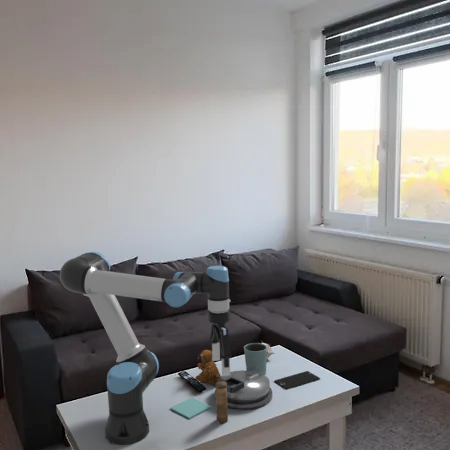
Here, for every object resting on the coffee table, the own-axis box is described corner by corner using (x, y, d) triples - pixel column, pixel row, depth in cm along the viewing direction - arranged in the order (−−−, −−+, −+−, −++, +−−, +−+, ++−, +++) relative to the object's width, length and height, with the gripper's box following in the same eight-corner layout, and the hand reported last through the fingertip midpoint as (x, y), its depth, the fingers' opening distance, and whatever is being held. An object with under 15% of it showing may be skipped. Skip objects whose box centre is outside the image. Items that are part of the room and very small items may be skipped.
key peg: (222, 424, 179) (221, 387, 177) (214, 420, 181) (213, 383, 179) (230, 420, 181) (229, 383, 180) (222, 416, 184) (221, 380, 182)
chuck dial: (241, 375, 214) (241, 361, 213) (280, 390, 199) (280, 375, 199) (206, 392, 199) (205, 378, 199) (245, 409, 185) (244, 394, 184)
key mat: (189, 419, 183) (189, 417, 183) (170, 409, 190) (170, 407, 190) (211, 407, 190) (211, 406, 190) (191, 398, 198) (191, 397, 198)
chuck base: (241, 377, 216) (241, 373, 216) (284, 394, 200) (284, 390, 199) (202, 396, 200) (202, 392, 199) (245, 416, 184) (245, 412, 183)
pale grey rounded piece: (268, 366, 236) (281, 350, 233) (257, 365, 229) (270, 349, 227) (258, 352, 241) (270, 337, 239) (247, 351, 235) (259, 335, 233)
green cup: (268, 377, 215) (267, 351, 213) (244, 378, 215) (244, 351, 213) (266, 367, 225) (266, 342, 223) (244, 368, 225) (243, 342, 223)
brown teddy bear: (214, 372, 222) (213, 344, 220) (227, 385, 209) (227, 355, 207) (193, 377, 218) (192, 348, 216) (205, 390, 205) (204, 360, 203)
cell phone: (273, 382, 211) (273, 380, 211) (307, 372, 220) (307, 370, 220) (286, 390, 204) (286, 388, 203) (320, 380, 212) (320, 378, 212)
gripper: (239, 319, 165) (241, 380, 168) (220, 299, 189) (222, 353, 192) (217, 322, 163) (219, 383, 166) (200, 301, 187) (202, 355, 190)
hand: (221, 367), depth 179 cm, fingers open, 13 cm apart
